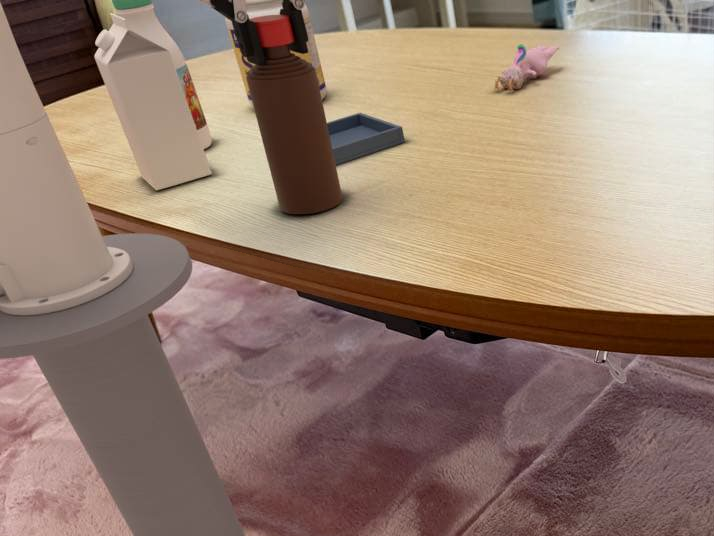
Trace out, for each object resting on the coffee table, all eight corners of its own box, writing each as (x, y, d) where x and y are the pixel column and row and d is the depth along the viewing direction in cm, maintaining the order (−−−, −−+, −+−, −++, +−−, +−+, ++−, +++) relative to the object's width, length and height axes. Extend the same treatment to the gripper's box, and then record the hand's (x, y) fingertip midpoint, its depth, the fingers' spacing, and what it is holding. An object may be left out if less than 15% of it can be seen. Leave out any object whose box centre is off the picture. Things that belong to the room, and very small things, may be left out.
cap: (292, 37, 83) (286, 12, 82) (296, 43, 80) (290, 18, 79) (252, 42, 82) (246, 17, 81) (254, 49, 79) (248, 23, 78)
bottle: (297, 219, 87) (251, 34, 76) (269, 204, 91) (222, 27, 81) (354, 201, 90) (317, 21, 80) (324, 187, 95) (285, 15, 84)
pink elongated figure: (522, 102, 120) (573, 59, 128) (514, 63, 115) (566, 20, 124) (489, 99, 123) (540, 57, 131) (479, 60, 118) (533, 19, 127)
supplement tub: (242, 118, 123) (204, -4, 113) (262, 95, 133) (229, -18, 123) (320, 110, 122) (289, -13, 112) (335, 88, 132) (308, -27, 122)
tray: (315, 172, 100) (310, 156, 98) (277, 154, 107) (272, 139, 106) (405, 141, 106) (402, 126, 105) (363, 126, 113) (360, 112, 112)
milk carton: (196, 162, 107) (141, 7, 96) (213, 175, 102) (156, 13, 91) (142, 178, 104) (78, 19, 93) (156, 192, 99) (91, 26, 88)
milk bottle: (169, 162, 108) (108, -1, 97) (148, 152, 113) (87, -5, 102) (222, 145, 112) (170, -13, 101) (200, 136, 117) (147, -16, 105)
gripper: (137, -152, 65) (213, 83, 76) (322, -173, 73) (367, 43, 84) (110, -148, 70) (185, 72, 81) (286, -168, 78) (333, 35, 89)
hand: (277, 55), depth 82 cm, fingers closed on cap, 4 cm apart
